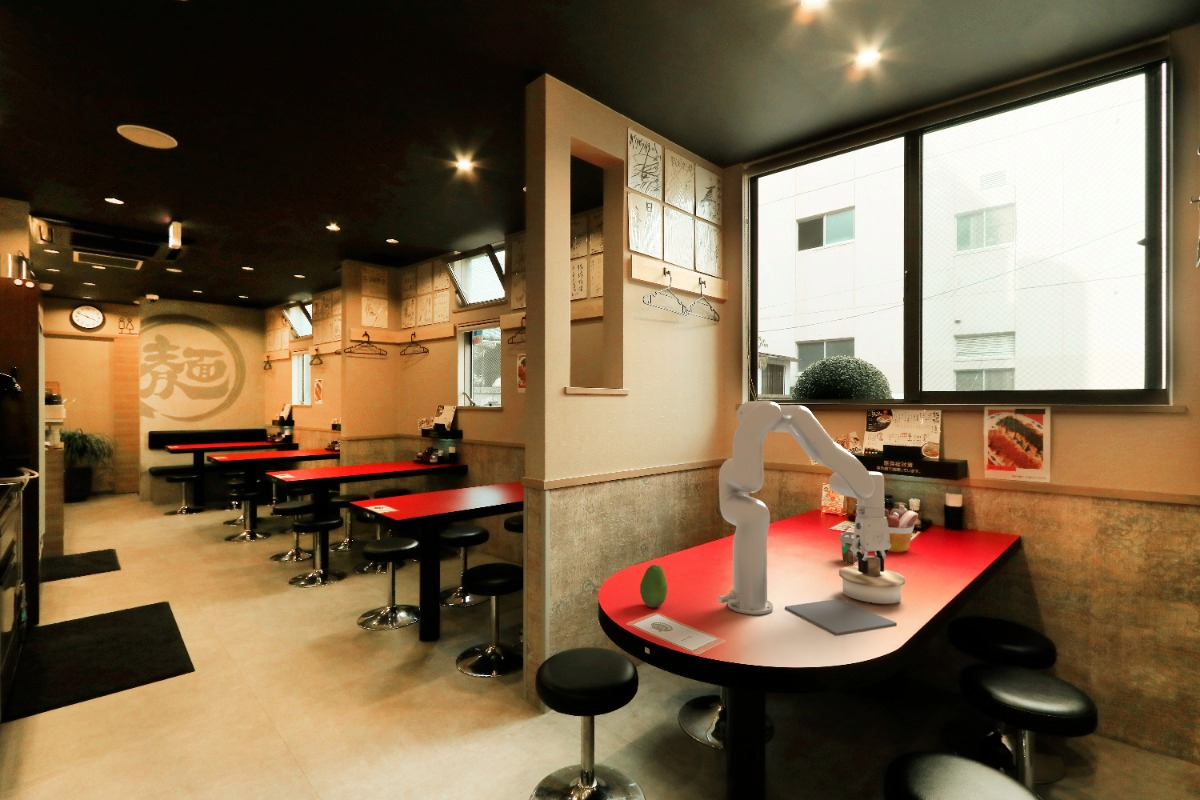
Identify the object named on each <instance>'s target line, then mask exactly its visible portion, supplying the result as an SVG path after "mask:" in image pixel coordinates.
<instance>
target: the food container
mask: <svg viewBox="0 0 1200 800" xmlns="http://www.w3.org/2000/svg"><path fill="white" fill-rule="evenodd" d="M838 540H839V541H840V544H841V555H842V556H841V557H842V562H843V561H844V562H843V563H845V562H847V563H850V564H849V565H851V564H854V563H855V562H857V561H858V559H857V558H856V556H855V554H854V553H853V552H852V551H851V550H850V547H851V546H852V544H853V542H854V531H853V532H852V531H851V532H850V531H849V532H848V531H847V532H846V531H845V532H842V533H840V535H839V539H838ZM847 563H846V564H847ZM857 563H858V562H857ZM854 565H855V564H854Z"/></svg>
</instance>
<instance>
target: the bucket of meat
mask: <svg viewBox="0 0 1200 800" xmlns="http://www.w3.org/2000/svg"><path fill="white" fill-rule="evenodd" d="M884 517H886V518H887V522H888V527H889V537H890V544H891V547H890V549H889V550H888V552H889V551H905V552H907V551H908V549H909V548H910V544H911V540H912V536H913V531H914V528H915V524H916V521H917V519H918V517H919V513H917V512H915V511H913V510H908V509H907V508H906V507H905V505H902V504H900V505H899V506H898V508H892V509H891V511H889V510H888V509H886V508H885V507H884Z"/></svg>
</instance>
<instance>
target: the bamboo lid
mask: <svg viewBox="0 0 1200 800" xmlns="http://www.w3.org/2000/svg"><path fill="white" fill-rule="evenodd" d="M866 560H867V561H868V574H864V573H861V572H859V571H858V565H851V566H844V567H841V568H840V569H838V576H839V577H840V578H842V580H843V579H845V580H847V581H850V582H853V583H857V584H861V585H867V586H874V587H897V586H901V587H902V586H903V585H905V584H906V577H905V576H904V575H902V574H901V573H898V572H896V571H893V570H889V569H885V568H884V572H881V571H880V558H878V557H874V555H867V558H866Z"/></svg>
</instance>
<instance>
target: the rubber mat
mask: <svg viewBox="0 0 1200 800" xmlns="http://www.w3.org/2000/svg"><path fill="white" fill-rule="evenodd" d="M784 609H786V610H788V611H789V612H791V613H793V614H794V615H796V616H799V617H800V618H803V619H804V620H806V621H808V622H810V623H811V624H813V625H816V626H818V627H820V628H822V629H824V630H825V631H828V632H829V633H831V634H834V635H836V636H840V635H846V634H847V633H848V634H852V633H853V632H854V633H858V631H859V632H865V631H870V630H876V629H882V627H883V628H887V627H888V626H889V627H893V626H898V623H897V622H896V621H893V620H890V619H888V618H887V617H884V616H882V615H879V614H878V613H875V612H873V611H870V610H867V609H865V608H863V607H861V606H859V605H856V604H853V603H851V602H850V601H847V600H845V599H842V598H835V599H828V600H822V601H814V602H805V603H800V604H793V605H785V606H784ZM889 627H888V628H889Z"/></svg>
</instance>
